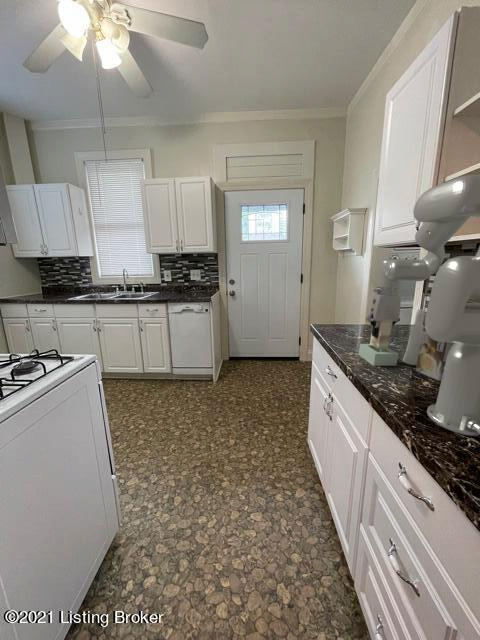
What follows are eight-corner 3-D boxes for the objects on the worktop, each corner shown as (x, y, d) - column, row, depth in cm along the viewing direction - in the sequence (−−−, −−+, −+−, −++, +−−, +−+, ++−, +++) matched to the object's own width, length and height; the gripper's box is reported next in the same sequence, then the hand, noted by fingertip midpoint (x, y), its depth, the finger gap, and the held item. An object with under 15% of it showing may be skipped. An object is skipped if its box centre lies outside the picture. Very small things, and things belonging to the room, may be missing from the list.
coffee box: (451, 378, 95) (461, 335, 91) (439, 381, 93) (449, 337, 89) (425, 368, 103) (434, 328, 99) (414, 370, 101) (422, 330, 97)
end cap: (396, 365, 105) (398, 353, 104) (373, 365, 104) (375, 353, 103) (379, 354, 116) (381, 343, 115) (358, 354, 116) (360, 343, 114)
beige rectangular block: (387, 348, 106) (392, 319, 103) (378, 348, 106) (382, 319, 103) (378, 343, 112) (383, 315, 109) (369, 343, 112) (374, 315, 109)
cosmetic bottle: (400, 358, 112) (409, 307, 106) (415, 360, 111) (425, 308, 106) (406, 364, 106) (416, 311, 101) (422, 366, 105) (434, 311, 100)
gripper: (372, 293, 99) (365, 339, 104) (414, 293, 100) (405, 339, 105) (361, 290, 106) (355, 333, 111) (401, 290, 108) (393, 333, 112)
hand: (380, 336), depth 108 cm, fingers closed on beige rectangular block, 4 cm apart
